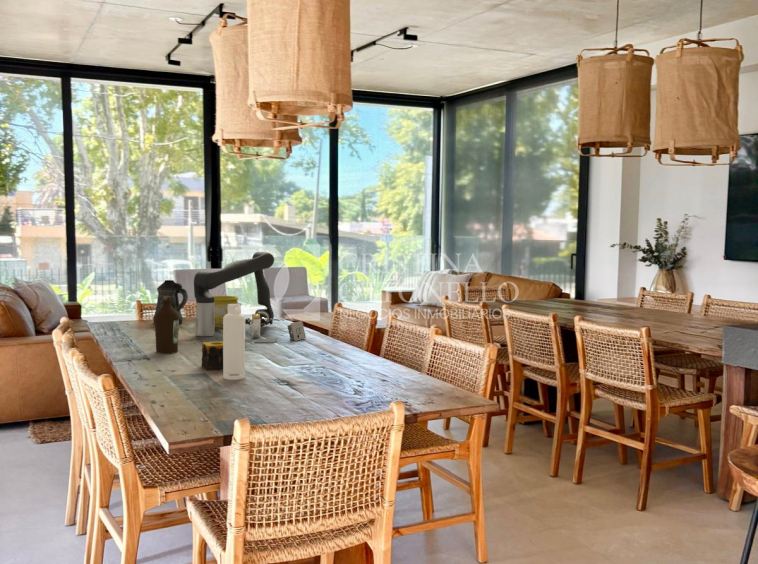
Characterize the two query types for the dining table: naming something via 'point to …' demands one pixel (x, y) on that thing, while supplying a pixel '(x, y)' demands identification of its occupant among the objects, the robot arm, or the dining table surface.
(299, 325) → the electrical switch
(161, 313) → the olive oil
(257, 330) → the canister
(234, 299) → the flowerpot
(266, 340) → the mat
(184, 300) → the beer stein
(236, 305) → the bottle
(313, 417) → the dining table surface
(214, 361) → the yellow black spotted box
